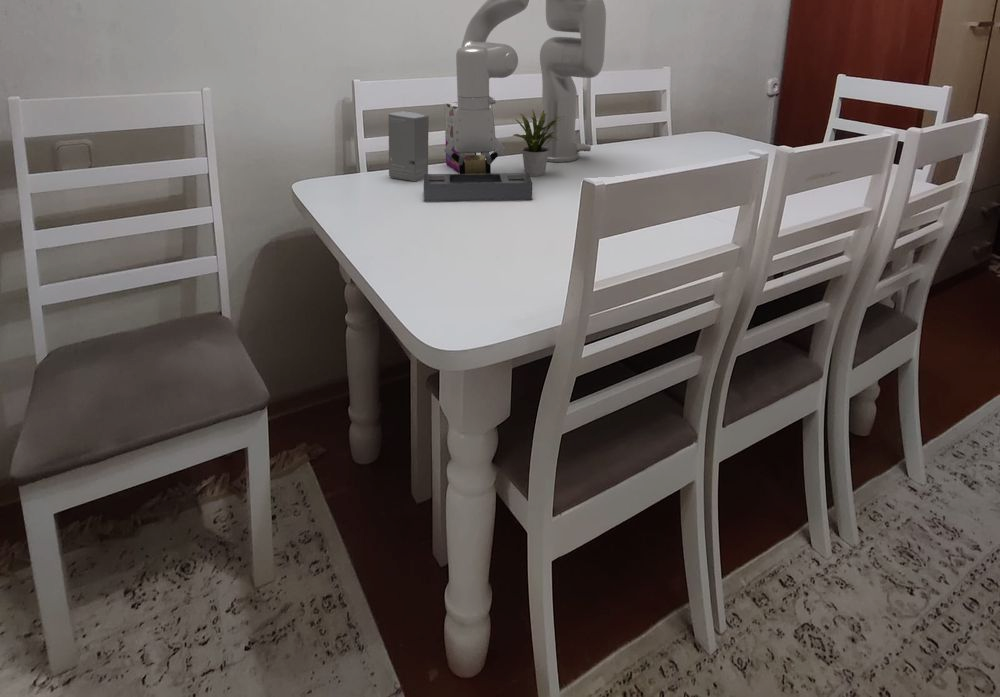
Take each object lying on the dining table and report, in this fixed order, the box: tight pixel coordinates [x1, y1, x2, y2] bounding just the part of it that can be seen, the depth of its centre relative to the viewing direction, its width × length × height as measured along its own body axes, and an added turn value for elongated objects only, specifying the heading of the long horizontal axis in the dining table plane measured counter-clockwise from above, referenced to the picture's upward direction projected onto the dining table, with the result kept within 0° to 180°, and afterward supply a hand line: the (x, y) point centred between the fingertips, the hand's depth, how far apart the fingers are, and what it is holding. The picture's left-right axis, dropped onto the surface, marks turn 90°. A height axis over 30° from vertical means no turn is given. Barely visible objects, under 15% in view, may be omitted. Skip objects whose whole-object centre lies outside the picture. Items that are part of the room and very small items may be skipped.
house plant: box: [512, 108, 564, 177], centre depth 182 cm, size 14×14×16 cm
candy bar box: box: [444, 101, 477, 173], centre depth 187 cm, size 11×5×16 cm, turn 25°
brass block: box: [464, 154, 486, 174], centre depth 175 cm, size 5×5×6 cm
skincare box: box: [388, 110, 430, 182], centre depth 179 cm, size 8×7×16 cm
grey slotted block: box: [423, 172, 533, 202], centre depth 167 cm, size 25×9×4 cm, turn 94°
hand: (475, 178), depth 176 cm, fingers closed on brass block, 5 cm apart
